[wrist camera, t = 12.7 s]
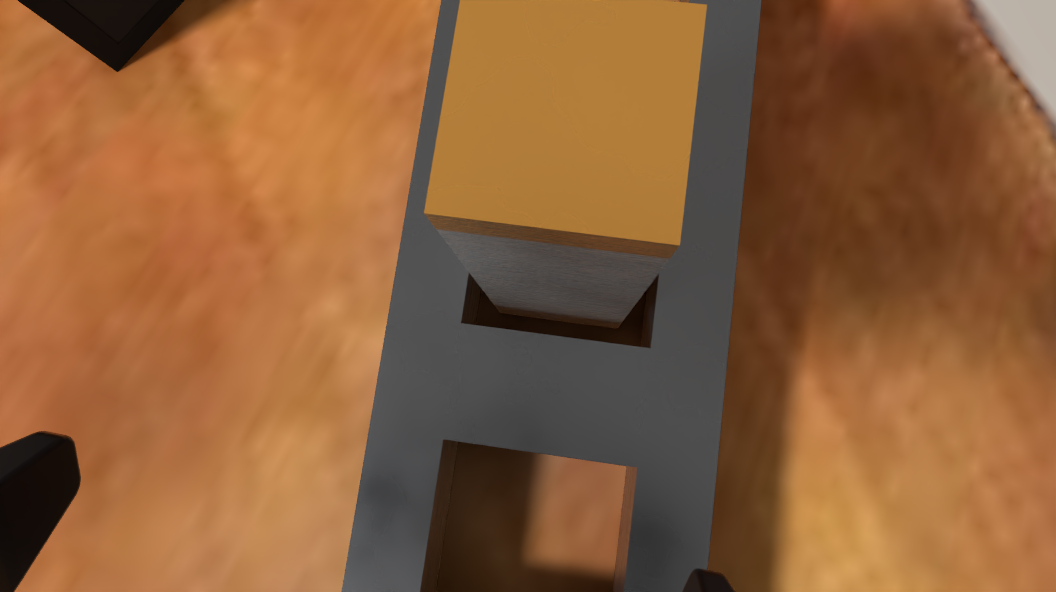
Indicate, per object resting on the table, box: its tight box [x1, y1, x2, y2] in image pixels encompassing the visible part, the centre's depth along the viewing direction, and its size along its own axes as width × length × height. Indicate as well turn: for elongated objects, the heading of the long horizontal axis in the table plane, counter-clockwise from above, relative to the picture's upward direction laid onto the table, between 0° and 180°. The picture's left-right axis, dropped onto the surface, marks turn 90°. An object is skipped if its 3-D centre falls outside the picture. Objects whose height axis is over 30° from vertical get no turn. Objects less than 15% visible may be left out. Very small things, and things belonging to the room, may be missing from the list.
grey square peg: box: [424, 0, 707, 329], centre depth 17 cm, size 4×4×12 cm
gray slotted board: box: [342, 0, 762, 592], centre depth 21 cm, size 28×10×3 cm, turn 172°
